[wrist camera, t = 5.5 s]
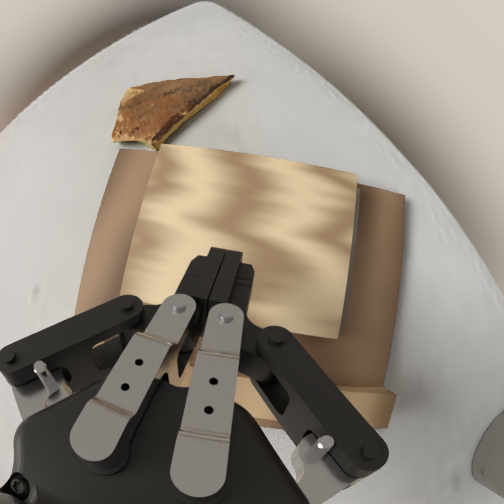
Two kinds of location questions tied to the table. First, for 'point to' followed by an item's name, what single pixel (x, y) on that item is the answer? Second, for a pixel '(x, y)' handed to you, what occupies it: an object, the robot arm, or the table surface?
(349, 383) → the wooden tray
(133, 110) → the shard
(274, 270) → the oak plank
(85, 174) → the table surface
